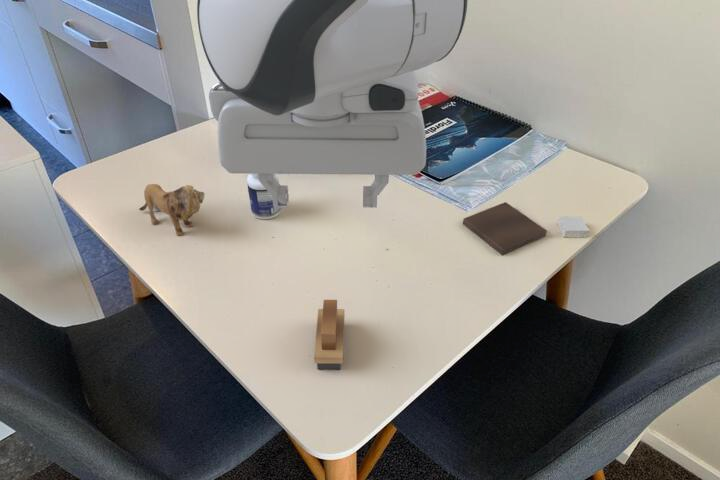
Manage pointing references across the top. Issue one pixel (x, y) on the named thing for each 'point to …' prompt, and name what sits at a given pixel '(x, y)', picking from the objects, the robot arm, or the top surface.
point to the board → (504, 228)
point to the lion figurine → (173, 204)
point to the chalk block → (572, 227)
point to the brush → (329, 336)
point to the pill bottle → (261, 199)
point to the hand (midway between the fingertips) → (325, 204)
